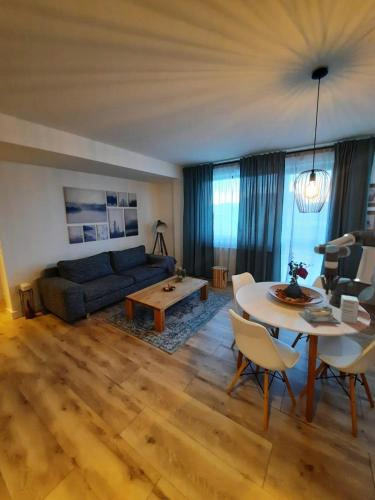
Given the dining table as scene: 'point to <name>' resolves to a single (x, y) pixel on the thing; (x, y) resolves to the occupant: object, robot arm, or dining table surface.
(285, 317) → the dining table surface
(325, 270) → the robot arm
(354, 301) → the supplement box
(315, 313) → the strap
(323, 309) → the strap
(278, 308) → the dining table surface
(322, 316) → the base plate
